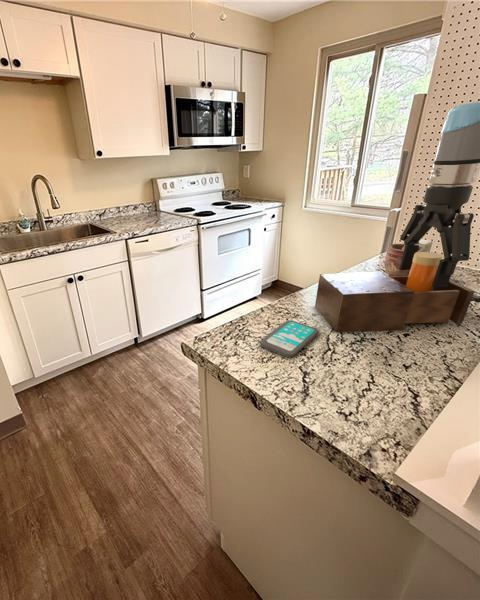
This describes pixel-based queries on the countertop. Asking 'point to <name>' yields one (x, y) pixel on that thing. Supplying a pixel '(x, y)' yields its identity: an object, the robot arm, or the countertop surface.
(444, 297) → the drawer
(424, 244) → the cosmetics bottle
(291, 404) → the countertop surface
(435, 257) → the spice jar
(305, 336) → the smartphone
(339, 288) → the cabinet
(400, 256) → the mortar and pestle
